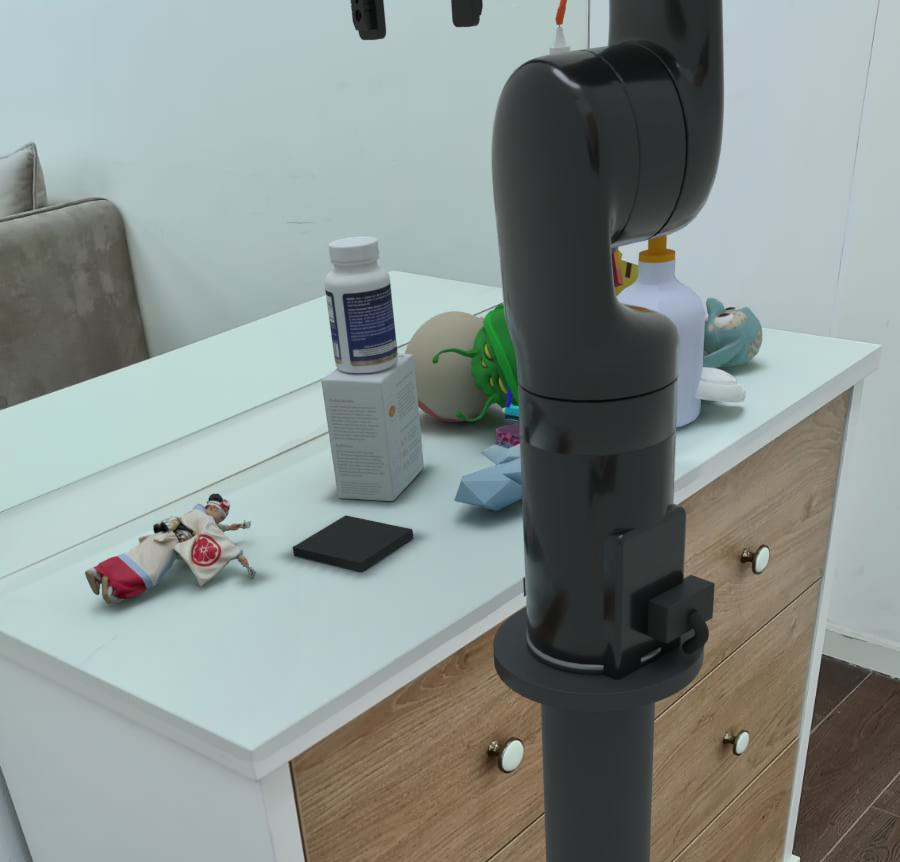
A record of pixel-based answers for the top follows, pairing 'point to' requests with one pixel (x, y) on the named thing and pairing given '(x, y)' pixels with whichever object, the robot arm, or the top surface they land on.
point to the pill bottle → (360, 307)
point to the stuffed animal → (730, 335)
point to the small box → (374, 430)
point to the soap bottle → (672, 317)
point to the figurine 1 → (172, 552)
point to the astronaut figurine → (719, 386)
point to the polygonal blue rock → (494, 480)
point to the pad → (353, 543)
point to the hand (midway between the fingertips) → (421, 32)
